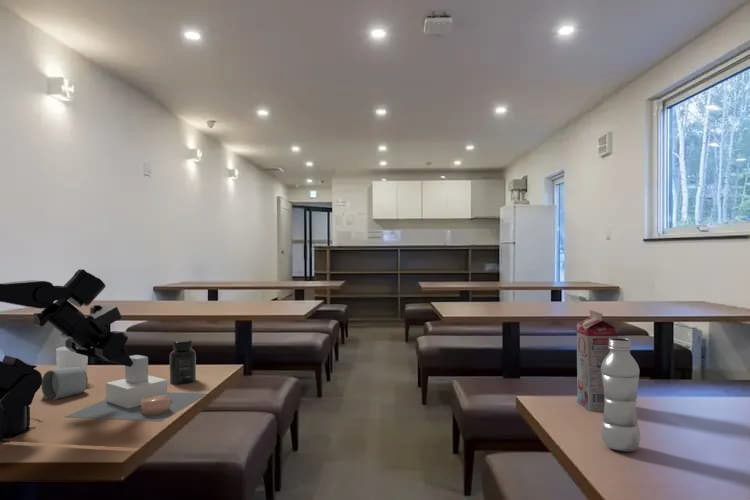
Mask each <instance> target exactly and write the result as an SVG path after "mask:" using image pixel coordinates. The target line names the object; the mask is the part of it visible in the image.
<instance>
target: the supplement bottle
mask: <svg viewBox="0 0 750 500" xmlns="http://www.w3.org/2000/svg"><path fill="white" fill-rule="evenodd" d="M192 347H193V341H192V339H189V338H187V339H185V338H183V339H176V340H173V347H172V348H173V350H172V351H171V352H170V353H169V384H170V385H177V386H178V385H189V384H191V383H195V382H196V381H197V368H196V367H197V361H196V360H197V356H196V351H195V350H194V349H193V348H192Z"/></svg>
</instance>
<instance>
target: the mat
mask: <svg viewBox="0 0 750 500" xmlns="http://www.w3.org/2000/svg"><path fill="white" fill-rule="evenodd" d="M206 395H208V393H200V392H199V393H197V392H196V393H195V392H171V391H170V392H169V391H167V396H169V397H170V411H169V412H167V413H164V414H161V415H154V416H145V415H142V414H141V405H139V406H135V407H131V408H125V407H122V406H119V405H116V404H113V403H110V402H107V401H106V398H105V399H103V400H101V401H98V402H96V403H94V404H91V405H89V406H87V407H85V408H82V409H79V410H78V411H75V412H73V413H70V414H68V415H66V416H65V418H76V419H99V420H102V419H103V420H121V421H123V420H124V421H143V422H144V421H145V422H146V421H147V422H162V421H164V420H166V419H168V418H170V417H172V415H175V414H176V413H177V412H179V411H181V410H183V409H185V408H186V407H188V406H190V405H192V404H194V403H195V402H197V401H198V400H200V399H202V398H203V397H205V396H206Z"/></svg>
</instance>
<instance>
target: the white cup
mask: <svg viewBox="0 0 750 500" xmlns="http://www.w3.org/2000/svg"><path fill="white" fill-rule="evenodd" d="M55 355H56V356H55V358H56V359H55V360H56V369H62V368H69V367H80V368H82V369H84V371H85V372H86V373H87V372H88V364H89V363H88V360H89V359H88V357H89V356H85V355H81V354H77V353H75V352H72V351H70V350H69V349H68V348H66V345H65V346H59V347H57V348H56V349H55Z"/></svg>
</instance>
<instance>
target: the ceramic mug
mask: <svg viewBox="0 0 750 500" xmlns="http://www.w3.org/2000/svg"><path fill="white" fill-rule="evenodd" d="M88 379H89V378H88V375H87V372H85V371H84V369H82V368H80V367H69V368H62V369H57V368H53V369H49V370H47V371H45V373H43V375H42V384H41V386H40V388H41V392H42V395H43V397H44V399H46V400H48V399H51V398H53V399H52V400H54V401H55V400H59V399H62V398H67V397H71V396H74V395H79V394H82V393H83V392H84V391H86V389H87V386H88Z"/></svg>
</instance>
